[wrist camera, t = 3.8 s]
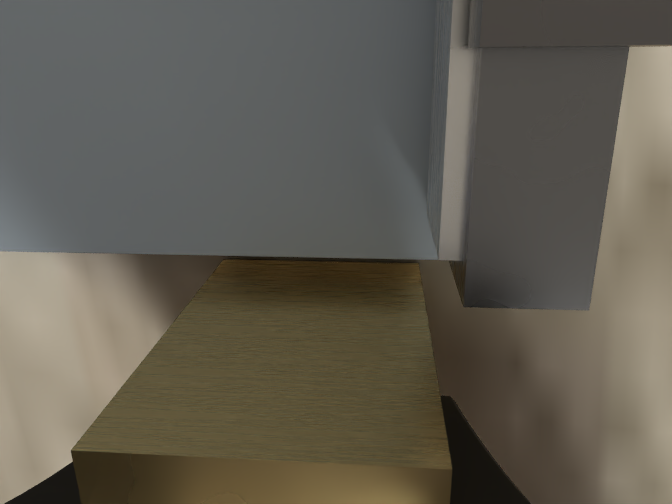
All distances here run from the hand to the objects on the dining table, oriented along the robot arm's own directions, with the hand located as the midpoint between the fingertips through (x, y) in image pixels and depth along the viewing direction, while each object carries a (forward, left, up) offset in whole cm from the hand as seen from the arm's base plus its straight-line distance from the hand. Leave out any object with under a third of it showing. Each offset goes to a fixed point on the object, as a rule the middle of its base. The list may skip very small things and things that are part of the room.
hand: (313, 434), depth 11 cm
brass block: (0, 0, -2) cm, 2 cm away
